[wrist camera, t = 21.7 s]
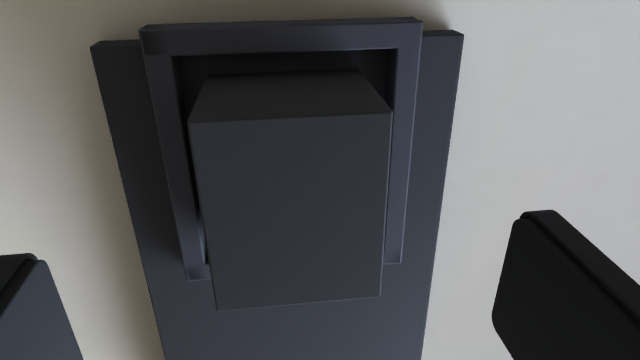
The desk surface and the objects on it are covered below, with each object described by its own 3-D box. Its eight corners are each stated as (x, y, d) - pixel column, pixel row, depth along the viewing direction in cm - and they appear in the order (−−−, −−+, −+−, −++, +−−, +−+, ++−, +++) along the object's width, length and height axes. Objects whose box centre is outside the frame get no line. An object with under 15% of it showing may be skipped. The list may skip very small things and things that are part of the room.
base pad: (94, 21, 14) (71, 31, 12) (455, 11, 15) (481, 19, 14) (177, 376, 22) (169, 413, 20) (414, 351, 23) (427, 384, 21)
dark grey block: (206, 74, 14) (186, 121, 10) (358, 68, 15) (393, 110, 11) (226, 229, 17) (216, 313, 13) (354, 219, 18) (381, 297, 14)
